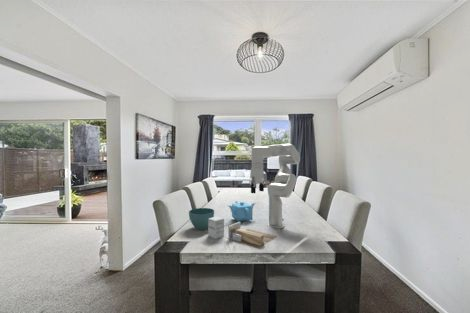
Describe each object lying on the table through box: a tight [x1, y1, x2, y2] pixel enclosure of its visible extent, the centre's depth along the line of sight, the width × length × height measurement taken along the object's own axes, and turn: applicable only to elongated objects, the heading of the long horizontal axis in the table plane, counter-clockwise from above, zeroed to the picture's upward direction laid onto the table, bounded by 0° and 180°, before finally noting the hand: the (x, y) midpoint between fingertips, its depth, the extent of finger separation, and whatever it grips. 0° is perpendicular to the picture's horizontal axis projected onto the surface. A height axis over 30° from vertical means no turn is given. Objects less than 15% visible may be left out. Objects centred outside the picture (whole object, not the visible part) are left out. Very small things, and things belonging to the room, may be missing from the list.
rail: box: [235, 228, 264, 247], centre depth 133 cm, size 4×18×5 cm, turn 51°
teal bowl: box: [188, 207, 215, 231], centre depth 162 cm, size 18×18×12 cm
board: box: [226, 228, 278, 249], centre depth 139 cm, size 22×23×2 cm
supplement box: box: [207, 216, 225, 240], centre depth 142 cm, size 7×7×13 cm
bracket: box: [227, 221, 242, 243], centre depth 138 cm, size 11×8×8 cm
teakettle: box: [228, 200, 256, 224], centre depth 180 cm, size 19×19×15 cm
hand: (257, 192), depth 146 cm, fingers open, 9 cm apart
